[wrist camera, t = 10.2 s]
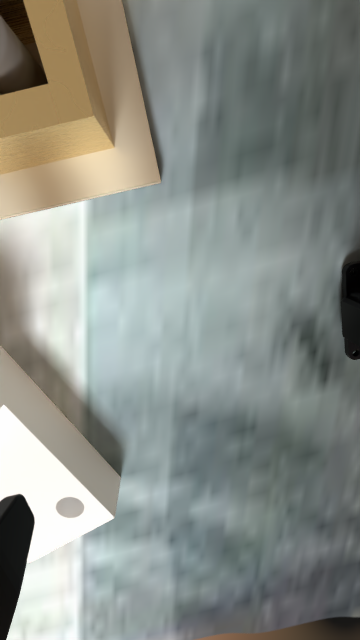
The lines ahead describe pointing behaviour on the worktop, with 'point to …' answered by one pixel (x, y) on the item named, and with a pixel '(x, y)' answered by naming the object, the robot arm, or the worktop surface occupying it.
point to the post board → (120, 107)
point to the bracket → (50, 464)
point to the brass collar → (52, 90)
